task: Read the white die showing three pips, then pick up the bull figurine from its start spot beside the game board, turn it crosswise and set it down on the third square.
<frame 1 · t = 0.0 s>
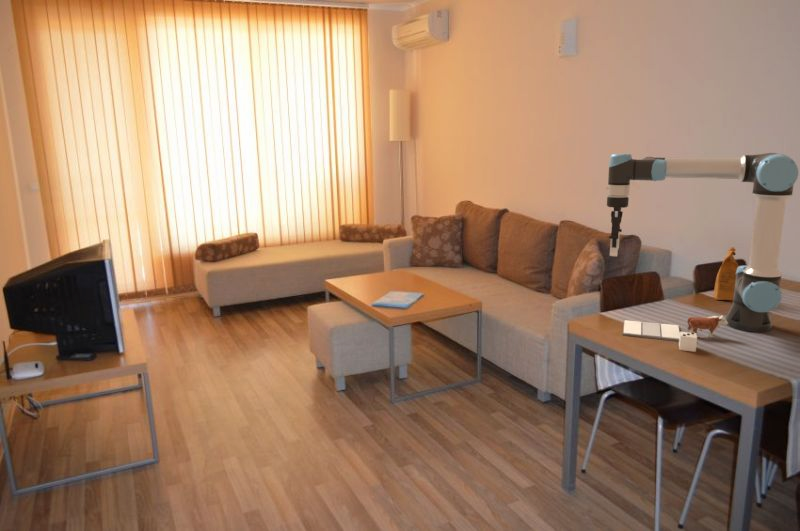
hand: (614, 252, 229), 28 cm above the table, tool pointing down, fingers open, 13 cm apart
game board: (651, 331, 225), on the table
die: (687, 348, 208), on the table
coffee package: (726, 298, 265), on the table
bull figurine: (705, 336, 219), on the table
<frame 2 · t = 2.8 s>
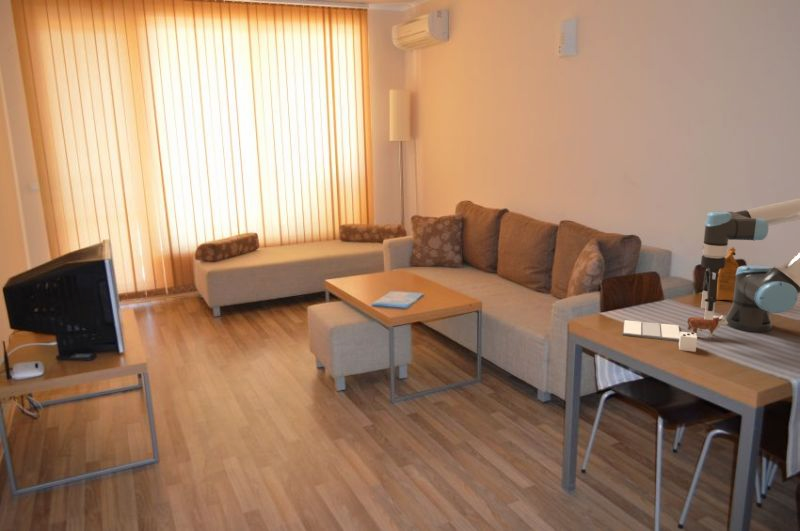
hand: (706, 313, 217), 8 cm above the table, tool pointing down, fingers open, 13 cm apart
nothing on the table moved.
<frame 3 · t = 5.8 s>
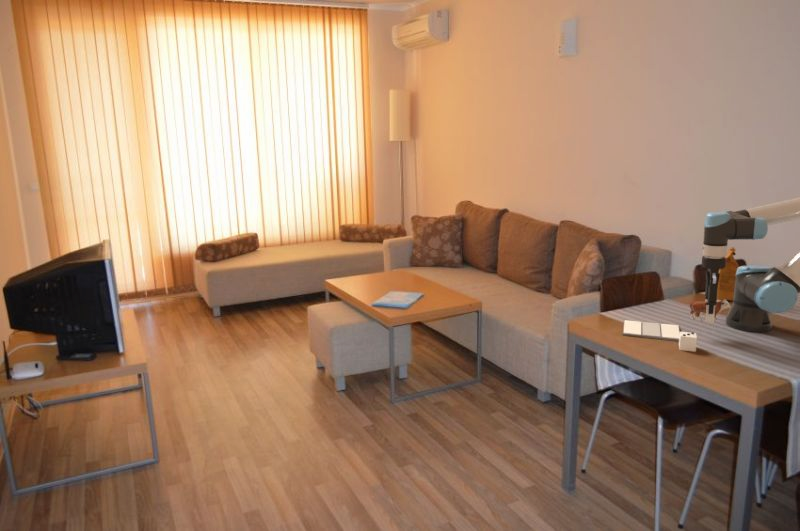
hand: (708, 319, 217), 6 cm above the table, tool pointing down, fingers closed on bull figurine, 5 cm apart
bull figurine: (708, 321, 218), point 6 cm above the table, touching gripper
everything else where it was.
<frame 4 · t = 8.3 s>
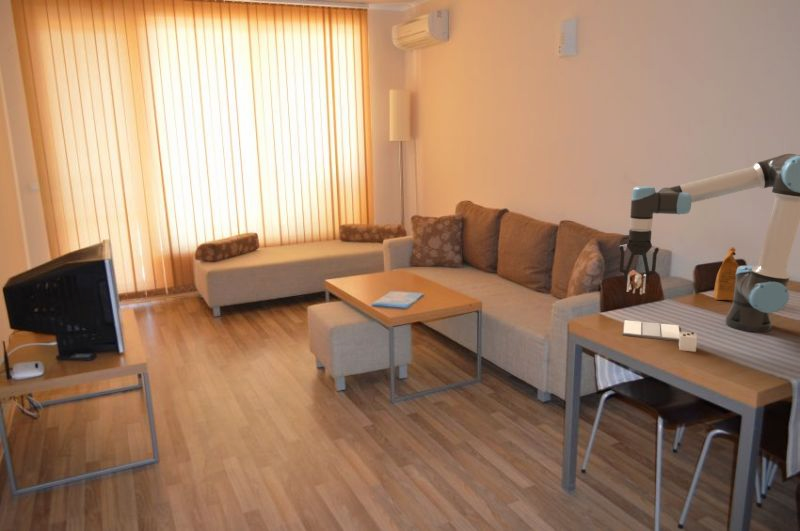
hand: (635, 291, 224), 15 cm above the table, tool pointing down, fingers closed on bull figurine, 5 cm apart
bull figurine: (635, 292, 224), point 14 cm above the table, touching gripper
everything else where it was.
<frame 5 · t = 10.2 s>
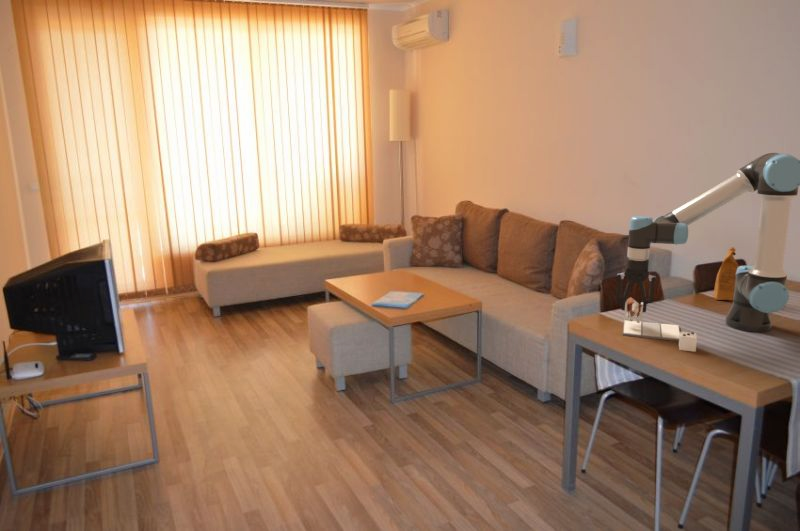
hand: (632, 319, 226), 4 cm above the table, tool pointing down, fingers closed on bull figurine, 5 cm apart
bull figurine: (632, 320, 227), point 4 cm above the table, touching gripper
everything else where it was.
when the fingers open (1 cm above the table, at t = 11.1 s): bull figurine stays where it is, resting on game board.
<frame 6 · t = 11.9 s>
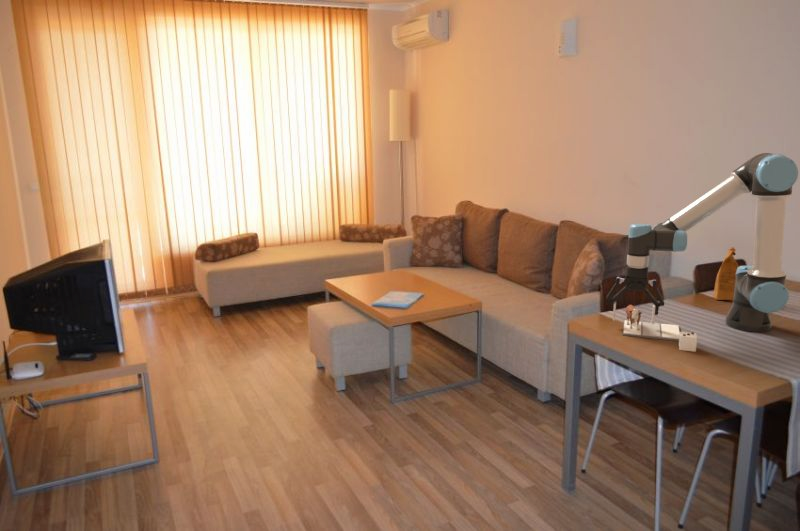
hand: (633, 321, 227), 3 cm above the table, tool pointing down, fingers open, 13 cm apart
bull figurine: (632, 327, 227), point 1 cm above the table, touching game board
everything else where it was.
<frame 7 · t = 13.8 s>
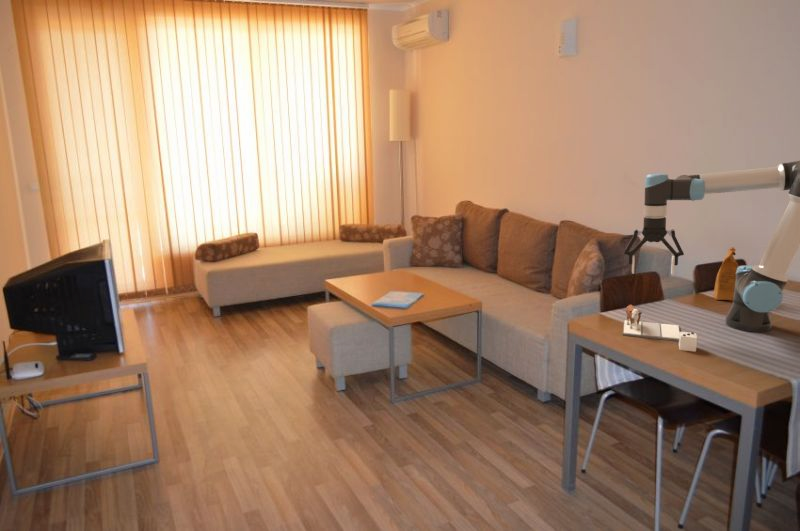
hand: (652, 273, 225), 21 cm above the table, tool pointing down, fingers open, 13 cm apart
nothing on the table moved.
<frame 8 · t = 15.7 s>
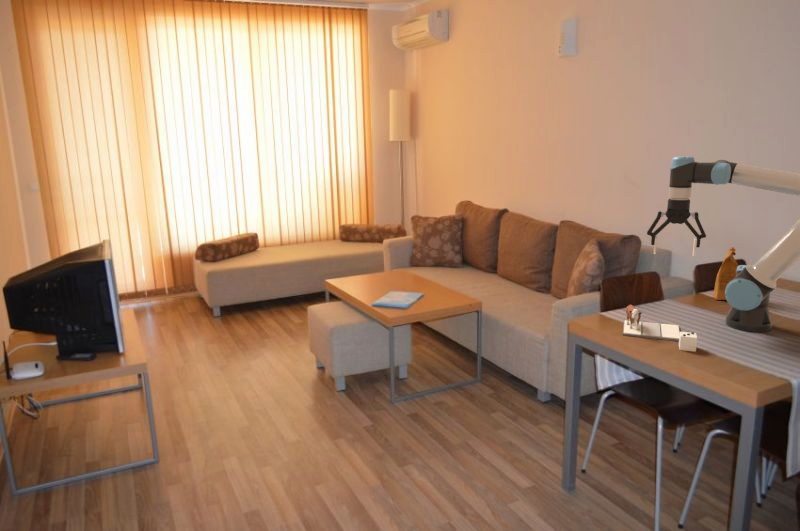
hand: (674, 254, 229), 27 cm above the table, tool pointing down, fingers open, 13 cm apart
nothing on the table moved.
at the end: bull figurine inside the target area (0.1 cm from its centre), point 0.7 cm above the table; bull figurine tilted 0°; the gripper is holding nothing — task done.
